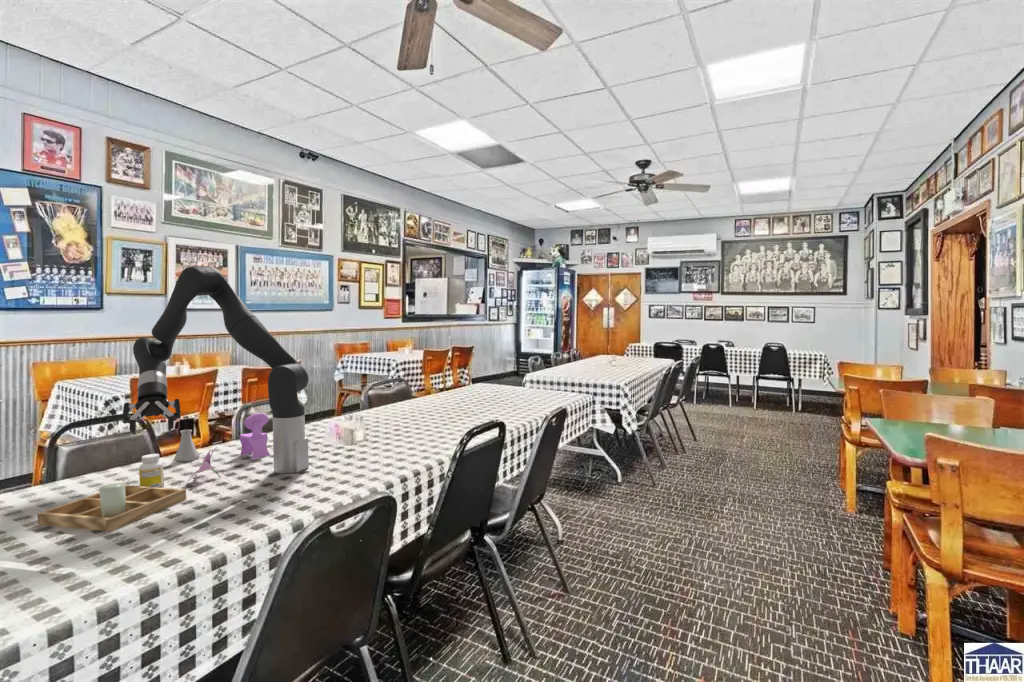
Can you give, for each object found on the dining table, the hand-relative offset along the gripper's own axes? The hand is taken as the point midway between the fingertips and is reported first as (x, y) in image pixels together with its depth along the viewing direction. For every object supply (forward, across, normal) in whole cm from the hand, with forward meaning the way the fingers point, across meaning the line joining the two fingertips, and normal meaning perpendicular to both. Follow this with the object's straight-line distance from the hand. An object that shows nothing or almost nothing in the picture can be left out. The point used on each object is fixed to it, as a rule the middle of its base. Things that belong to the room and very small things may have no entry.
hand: (152, 431), depth 147 cm
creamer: (+34, -6, -15) cm, 38 cm away
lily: (+17, +12, +4) cm, 21 cm away
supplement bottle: (+18, 0, +2) cm, 19 cm away
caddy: (+30, -6, -9) cm, 32 cm away
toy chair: (+2, +28, +19) cm, 34 cm away
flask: (-4, +8, +24) cm, 26 cm away
